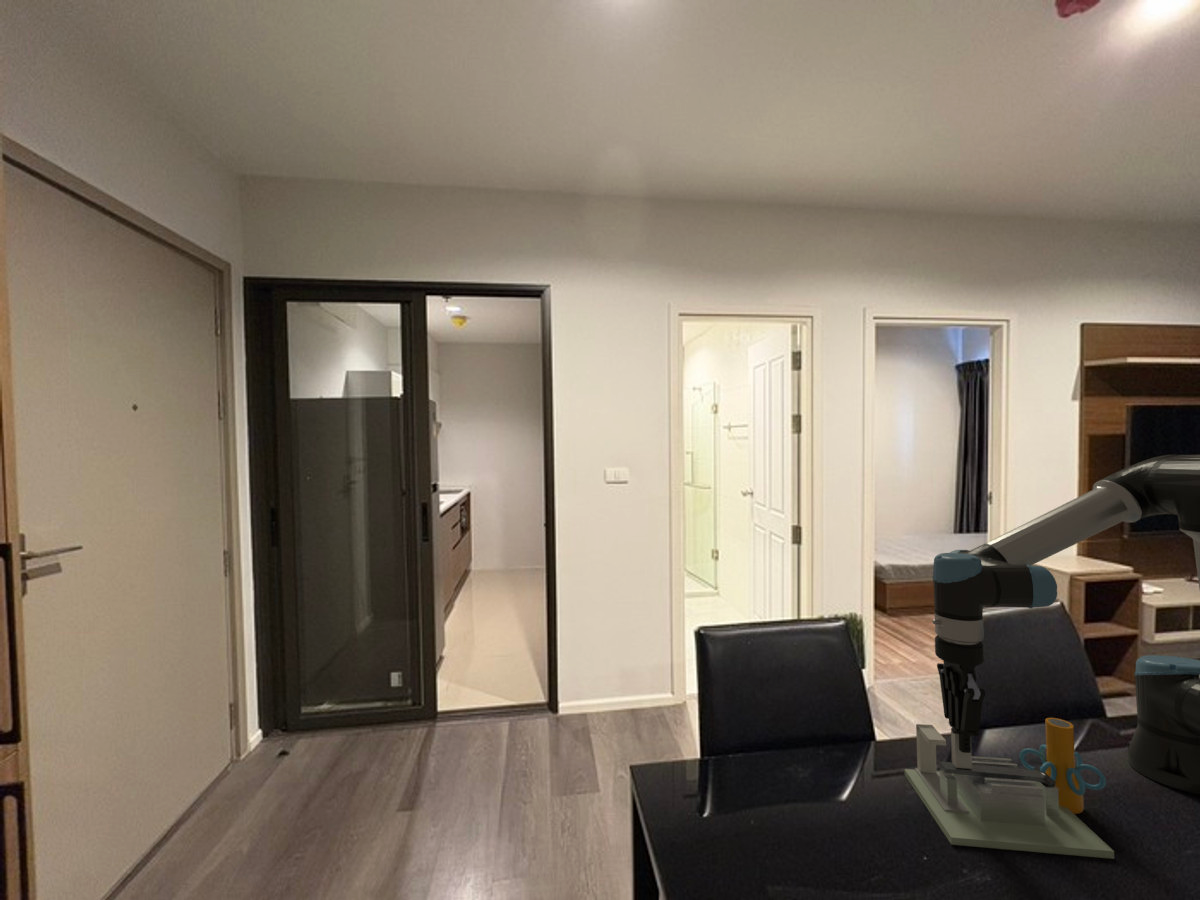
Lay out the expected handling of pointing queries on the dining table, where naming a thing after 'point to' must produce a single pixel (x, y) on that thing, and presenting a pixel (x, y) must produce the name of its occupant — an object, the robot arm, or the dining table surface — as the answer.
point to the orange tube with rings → (1064, 764)
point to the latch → (927, 747)
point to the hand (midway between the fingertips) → (961, 765)
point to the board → (1006, 825)
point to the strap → (999, 772)
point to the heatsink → (1001, 795)
